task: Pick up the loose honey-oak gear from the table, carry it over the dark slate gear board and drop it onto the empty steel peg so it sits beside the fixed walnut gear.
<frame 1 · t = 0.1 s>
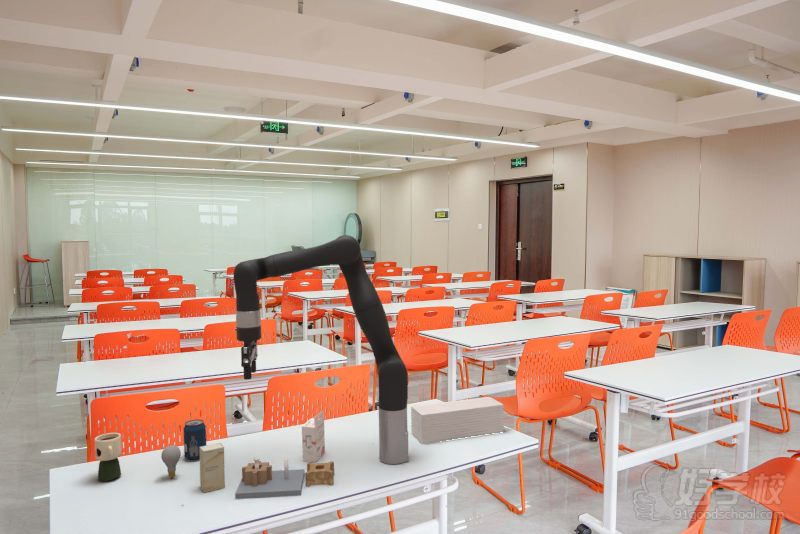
hand: (250, 375, 175), 29 cm above the table, fingers open, 8 cm apart
light bulb: (172, 478, 169), on the table
stack of papers: (457, 434, 203), on the table
skincare box: (212, 488, 163), on the table
gear board: (271, 485, 163), on the table
oak gear: (320, 480, 166), on the table
ink cartridge box: (313, 457, 184), on the table
character mug: (109, 479, 170), on the table
soda can: (195, 458, 184), on the table
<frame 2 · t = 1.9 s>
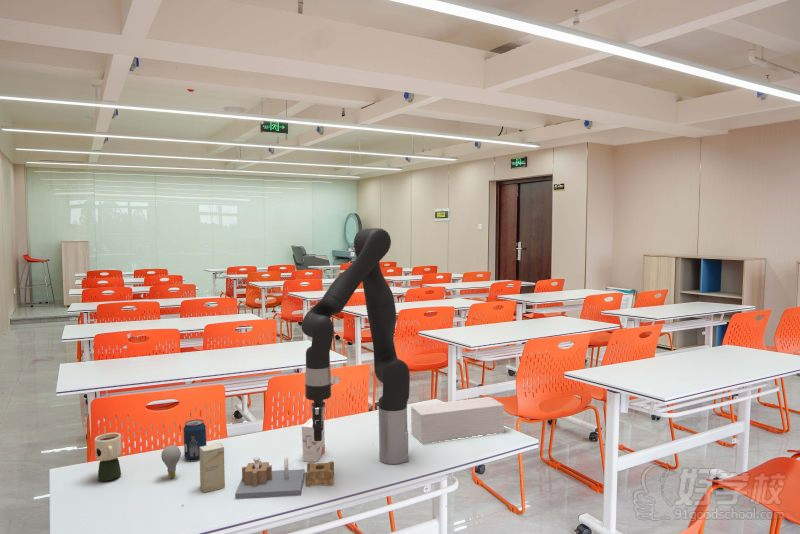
hand: (318, 435, 165), 14 cm above the table, fingers open, 8 cm apart
nothing on the table moved.
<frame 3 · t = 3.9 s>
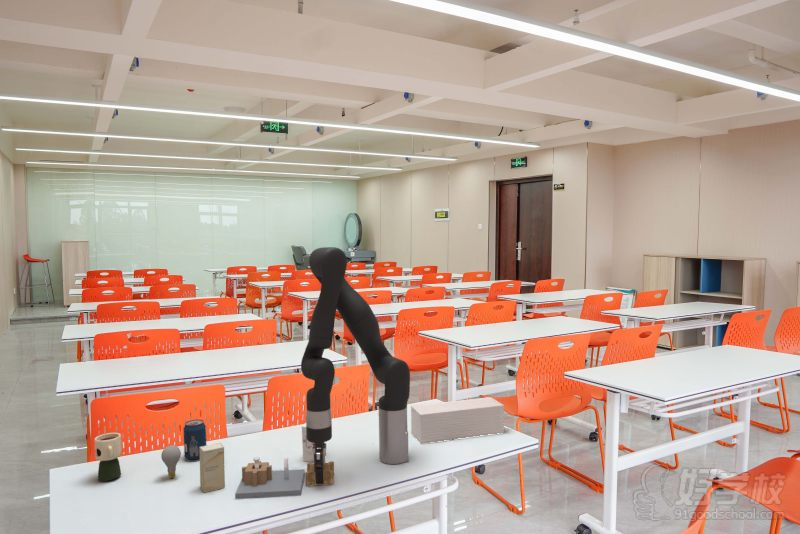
hand: (320, 478, 166), 1 cm above the table, fingers closed on oak gear, 6 cm apart
oak gear: (320, 480, 166), on the table, touching gripper
everything else where it was.
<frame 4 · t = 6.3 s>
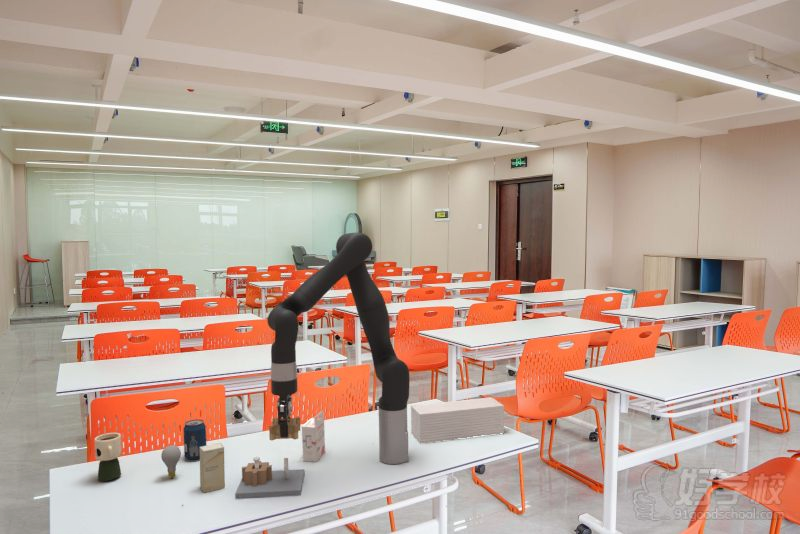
hand: (285, 432, 164), 15 cm above the table, fingers closed on oak gear, 6 cm apart
oak gear: (285, 434, 164), point 15 cm above the table, touching gripper
everything else where it was.
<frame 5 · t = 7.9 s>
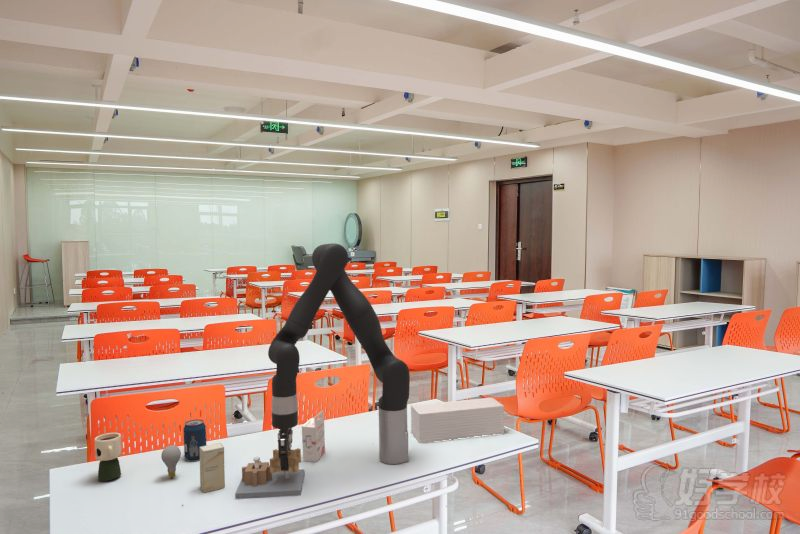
hand: (285, 465, 164), 6 cm above the table, fingers closed on oak gear, 6 cm apart
oak gear: (285, 467, 164), point 5 cm above the table, touching gripper
everything else where it was.
when the fingers open (5 cm above the table, at t = 9.1 s): oak gear drops 2 cm, resting on gear board.
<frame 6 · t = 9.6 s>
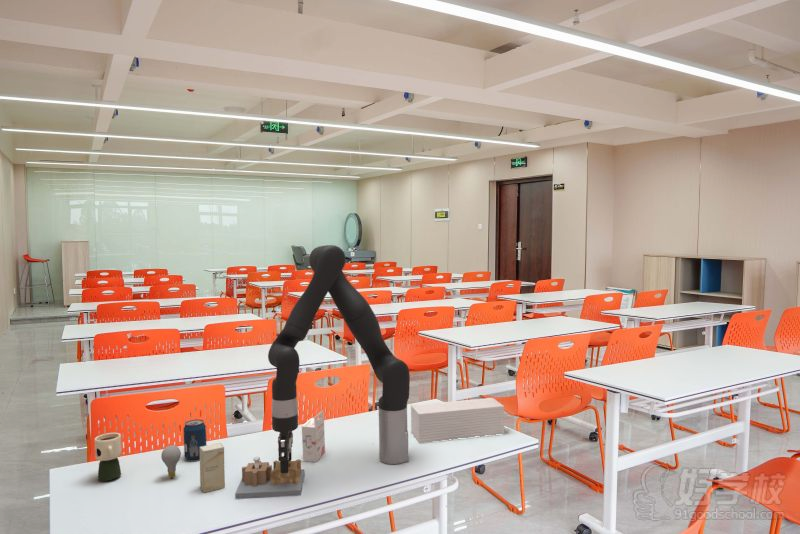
hand: (286, 466, 164), 5 cm above the table, fingers open, 8 cm apart
oak gear: (286, 478, 164), point 1 cm above the table, touching gear board
everything else where it was.
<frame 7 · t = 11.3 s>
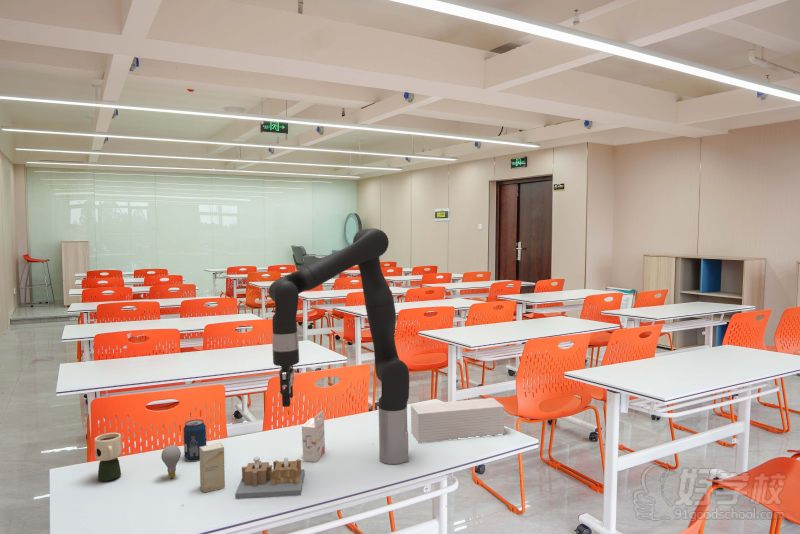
hand: (287, 401, 165), 24 cm above the table, fingers open, 8 cm apart
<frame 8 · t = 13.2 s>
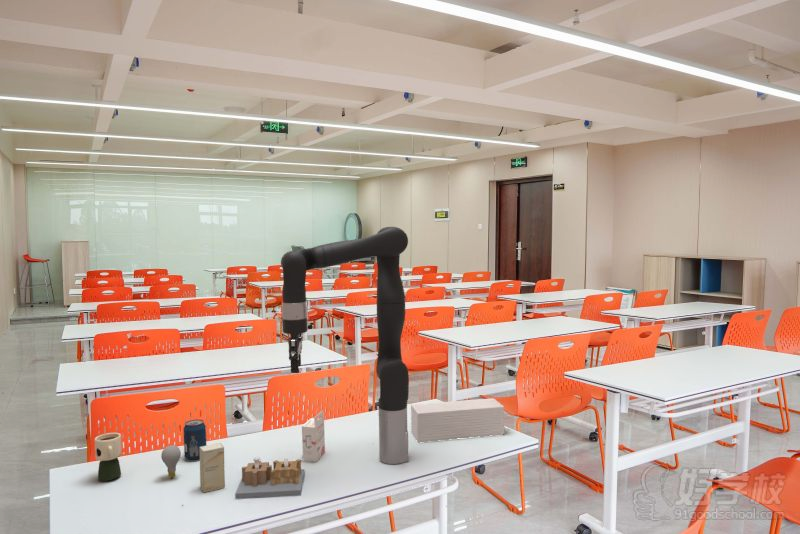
hand: (296, 369, 171), 32 cm above the table, fingers open, 8 cm apart
at the end: oak gear 0.1 cm from the target spot on the gear board, point 1.5 cm above the gear board's base; the gripper is holding nothing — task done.
